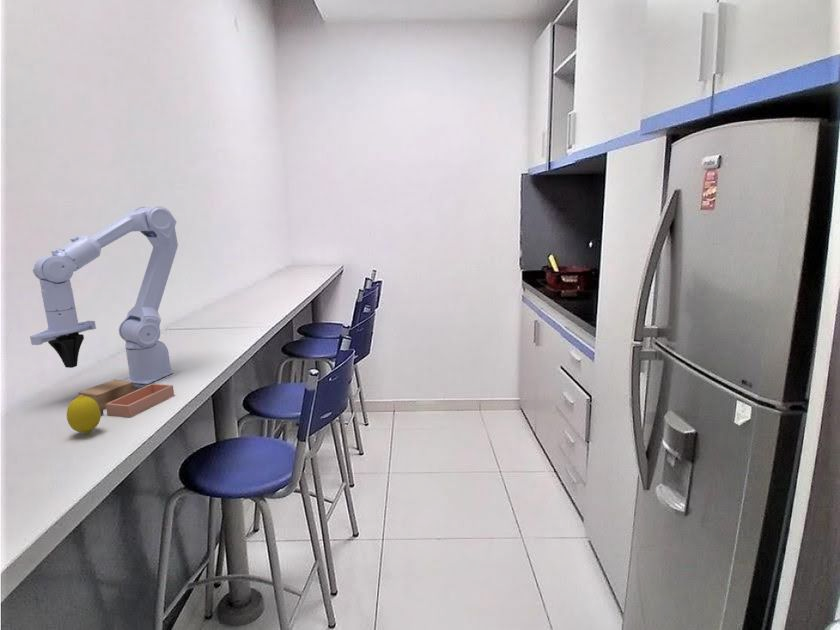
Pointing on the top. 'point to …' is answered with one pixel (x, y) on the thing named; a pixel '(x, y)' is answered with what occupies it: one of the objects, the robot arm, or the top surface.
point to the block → (108, 391)
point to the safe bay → (134, 389)
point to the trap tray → (139, 400)
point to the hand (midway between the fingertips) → (71, 366)
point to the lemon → (83, 414)
